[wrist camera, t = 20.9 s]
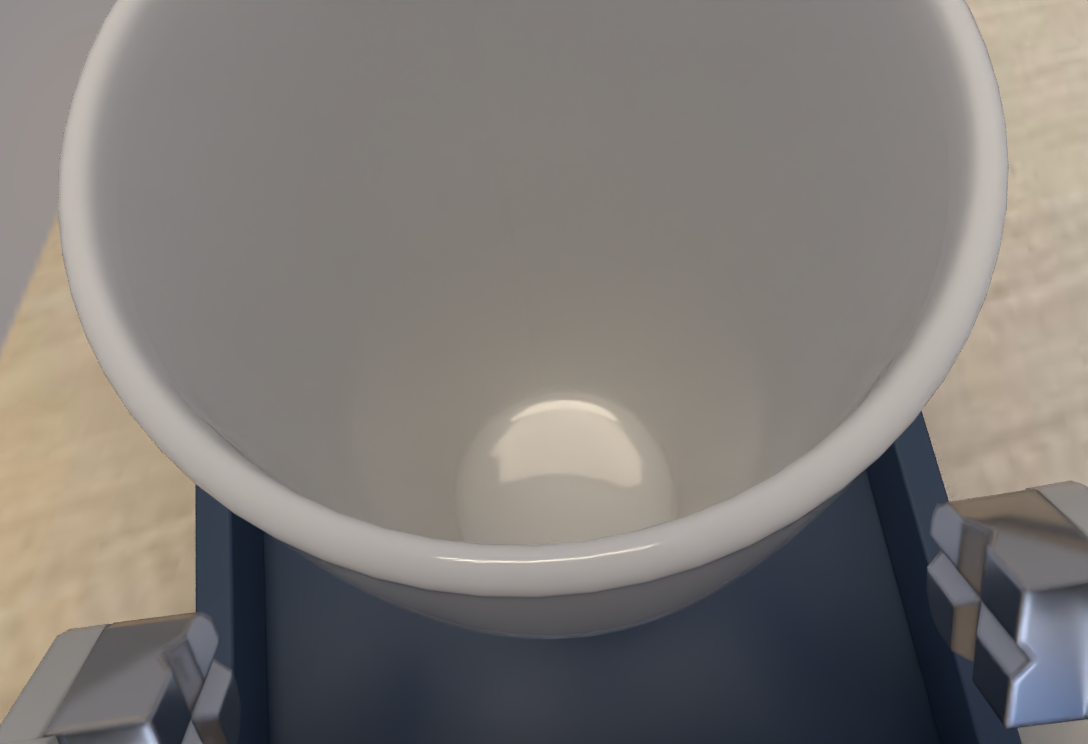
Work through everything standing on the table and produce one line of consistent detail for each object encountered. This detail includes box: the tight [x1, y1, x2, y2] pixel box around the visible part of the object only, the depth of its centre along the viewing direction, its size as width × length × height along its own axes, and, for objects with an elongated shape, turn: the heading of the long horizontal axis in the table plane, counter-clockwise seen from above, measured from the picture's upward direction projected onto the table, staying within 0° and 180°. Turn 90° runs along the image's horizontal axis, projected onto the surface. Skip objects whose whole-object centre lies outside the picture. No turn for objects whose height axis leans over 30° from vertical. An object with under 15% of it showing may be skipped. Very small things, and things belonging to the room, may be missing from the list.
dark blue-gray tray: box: [196, 411, 1022, 744], centre depth 19 cm, size 16×16×3 cm
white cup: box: [58, 0, 1009, 640], centre depth 13 cm, size 7×7×15 cm
